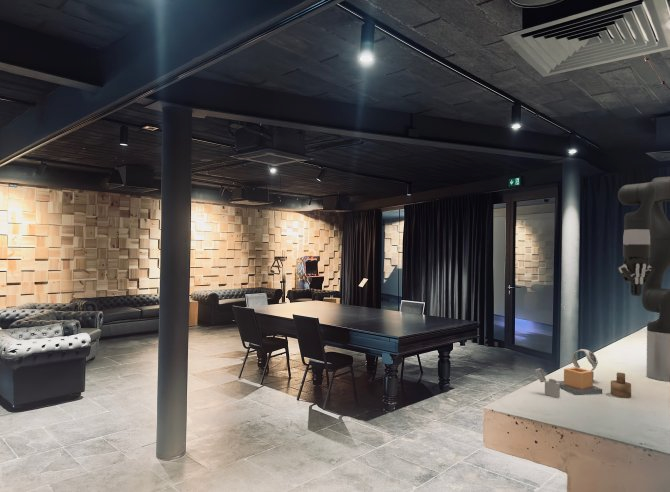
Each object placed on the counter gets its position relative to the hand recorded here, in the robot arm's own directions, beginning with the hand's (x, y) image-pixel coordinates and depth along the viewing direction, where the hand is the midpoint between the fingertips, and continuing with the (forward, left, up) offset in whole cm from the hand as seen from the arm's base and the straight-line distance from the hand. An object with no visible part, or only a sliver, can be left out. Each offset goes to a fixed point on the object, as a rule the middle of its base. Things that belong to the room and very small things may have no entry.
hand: (636, 295), depth 152 cm
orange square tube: (+18, -4, -30) cm, 36 cm away
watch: (+8, -14, -32) cm, 36 cm away
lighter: (+32, 0, -32) cm, 45 cm away
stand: (+8, +3, -32) cm, 33 cm away
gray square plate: (+18, -4, -32) cm, 37 cm away
